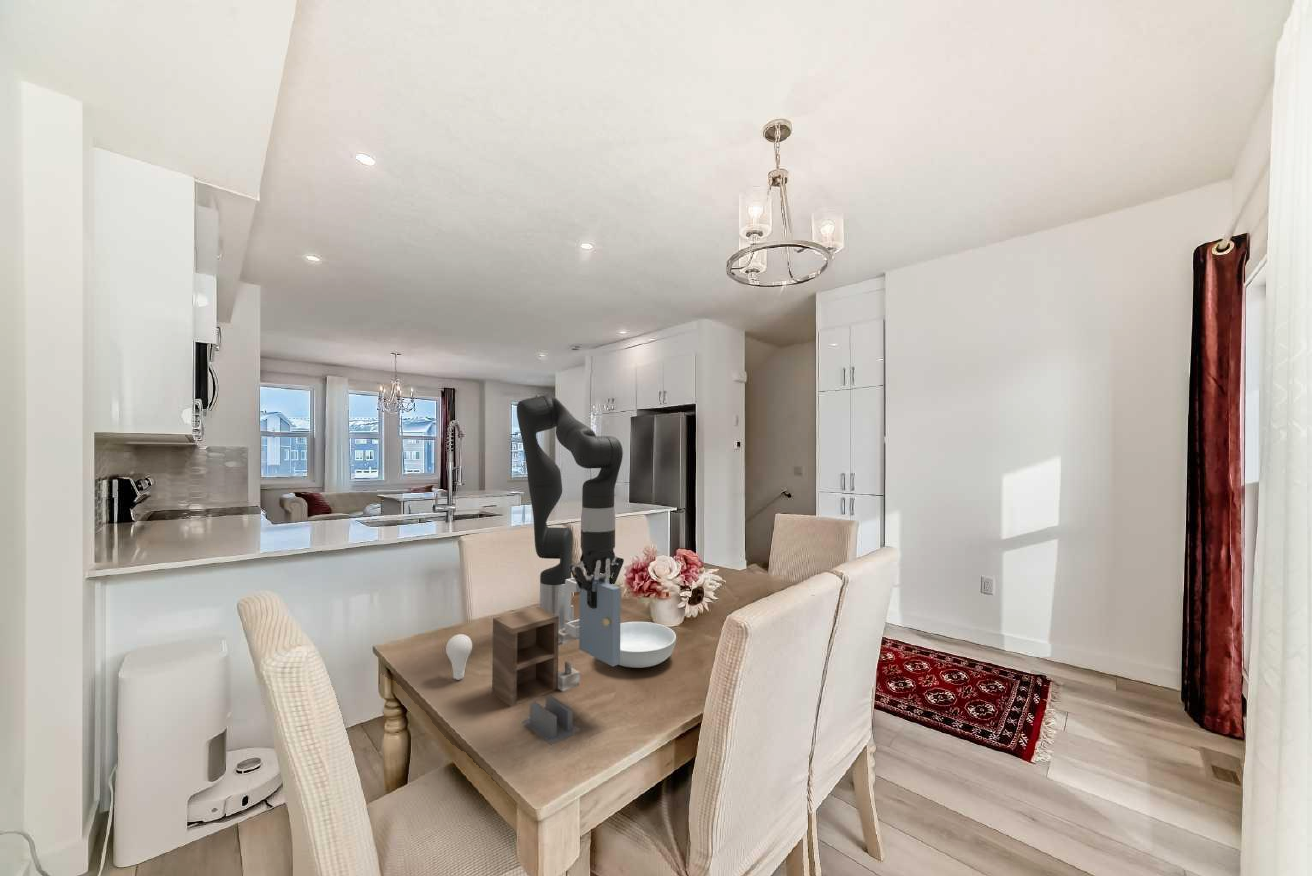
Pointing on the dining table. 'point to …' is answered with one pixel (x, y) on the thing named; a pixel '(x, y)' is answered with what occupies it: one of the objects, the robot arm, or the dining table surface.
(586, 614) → the cabinet door
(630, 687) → the dining table surface
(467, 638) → the lightbulb
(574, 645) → the dining table surface
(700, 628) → the dining table surface
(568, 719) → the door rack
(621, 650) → the serving bowl
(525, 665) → the cabinet
